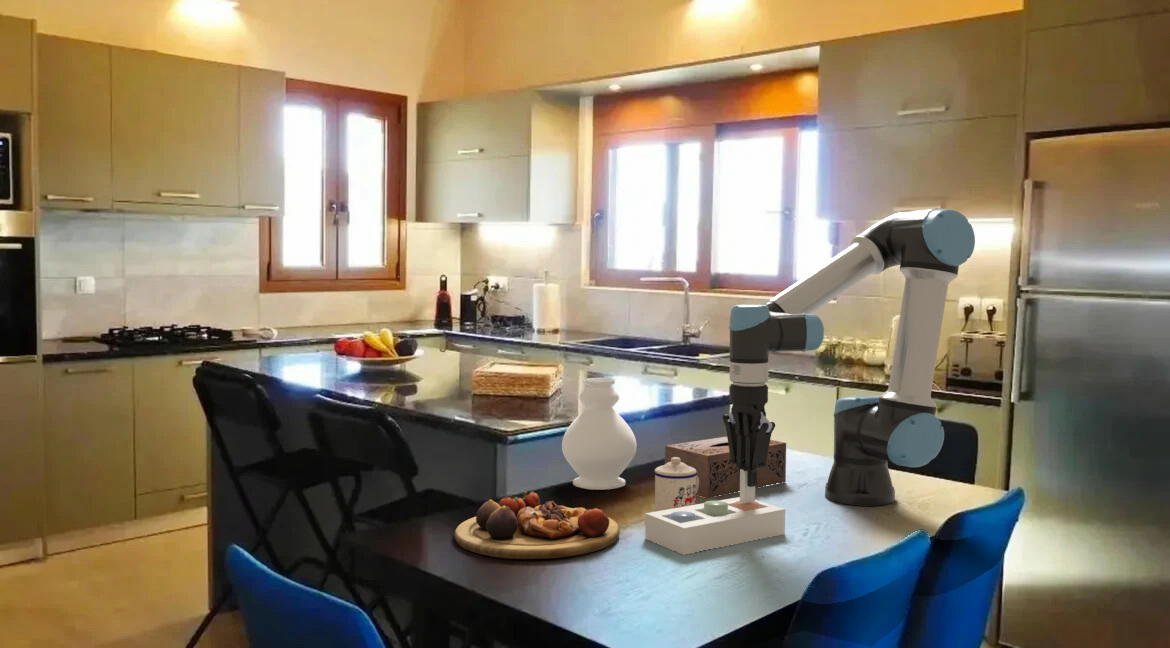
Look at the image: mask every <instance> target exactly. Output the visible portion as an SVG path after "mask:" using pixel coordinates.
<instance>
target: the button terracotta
mask: <svg viewBox="0 0 1170 648" xmlns="http://www.w3.org/2000/svg"><path fill="white" fill-rule="evenodd" d="M735 508H738V509H741V510H744V511H749V510H754V509H759V503H758V502H750V503H742V502H740V501H737V502H735Z"/></svg>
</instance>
